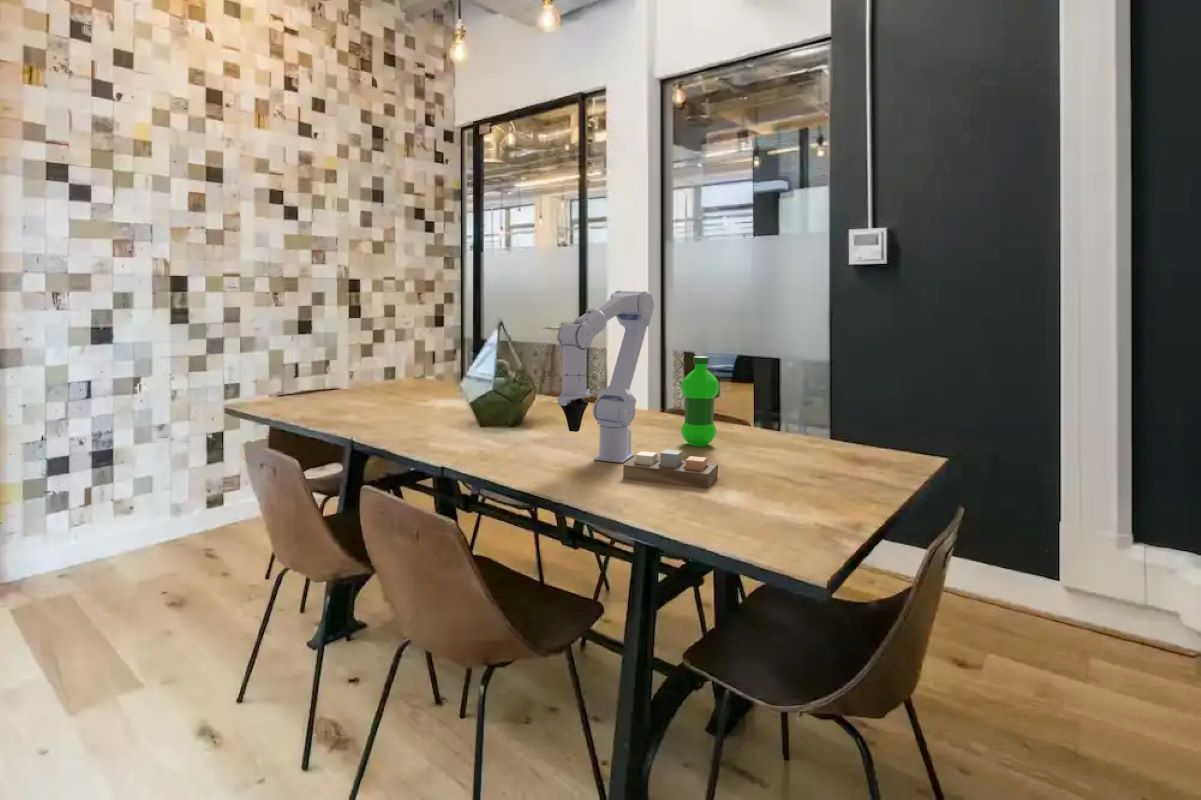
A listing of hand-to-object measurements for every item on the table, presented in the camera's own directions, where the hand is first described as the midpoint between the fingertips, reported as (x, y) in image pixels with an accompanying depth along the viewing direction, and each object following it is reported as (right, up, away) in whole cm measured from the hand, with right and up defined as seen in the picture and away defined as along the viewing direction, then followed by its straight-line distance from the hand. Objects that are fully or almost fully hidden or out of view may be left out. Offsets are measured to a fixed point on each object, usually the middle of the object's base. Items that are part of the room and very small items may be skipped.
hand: (574, 431), depth 170 cm
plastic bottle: (+34, -5, +33) cm, 48 cm away
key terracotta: (+28, -10, -6) cm, 30 cm away
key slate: (+23, -8, -4) cm, 24 cm away
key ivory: (+17, -9, -1) cm, 19 cm away
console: (+23, -11, -3) cm, 25 cm away
